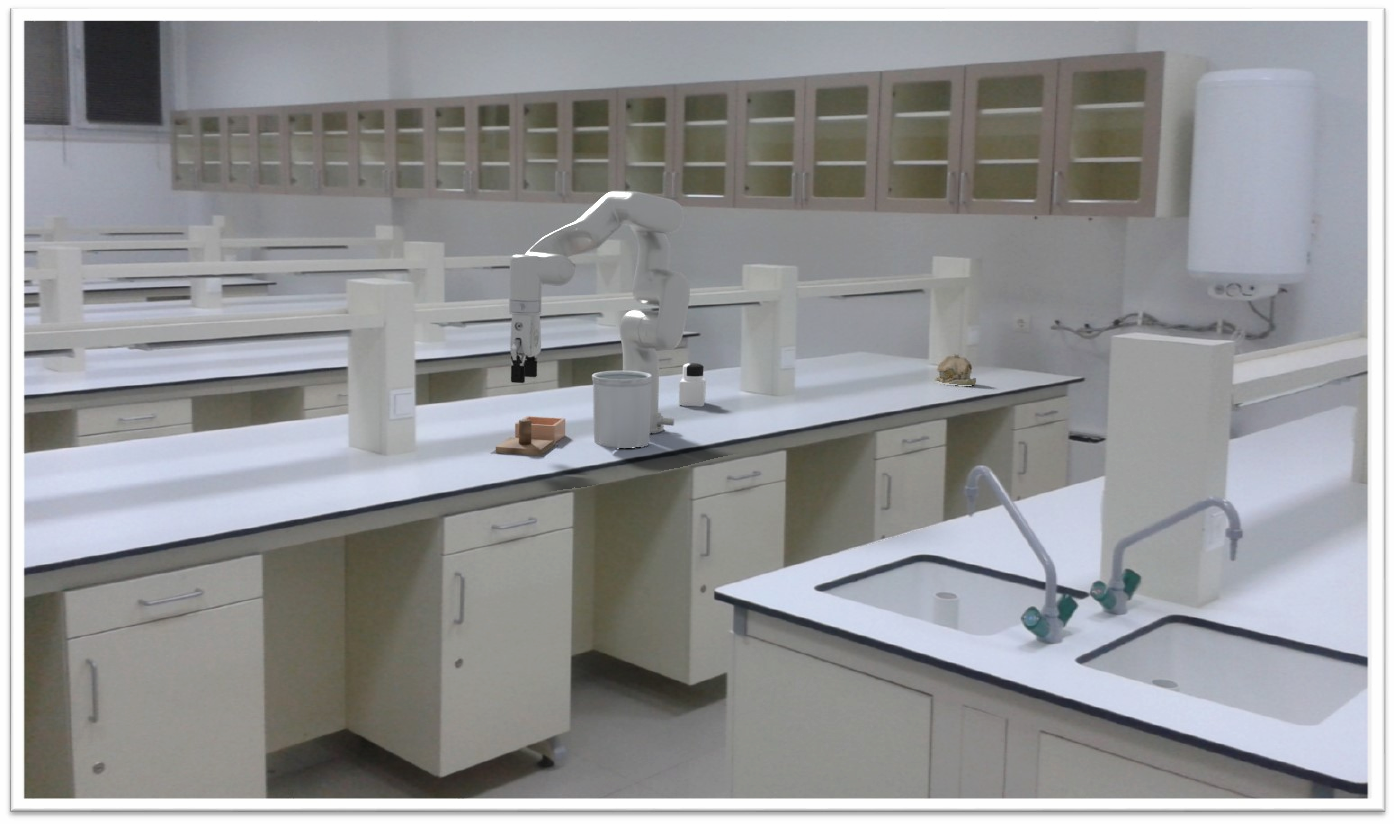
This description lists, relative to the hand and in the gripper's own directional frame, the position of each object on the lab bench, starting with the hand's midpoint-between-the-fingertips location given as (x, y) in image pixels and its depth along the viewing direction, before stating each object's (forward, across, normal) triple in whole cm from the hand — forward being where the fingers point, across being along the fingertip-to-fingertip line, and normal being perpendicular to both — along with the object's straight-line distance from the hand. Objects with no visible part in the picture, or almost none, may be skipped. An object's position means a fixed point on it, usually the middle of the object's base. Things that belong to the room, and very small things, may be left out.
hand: (524, 379), depth 299 cm
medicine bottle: (+16, +75, -28) cm, 82 cm away
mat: (+18, +1, 0) cm, 18 cm away
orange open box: (+17, +14, 0) cm, 22 cm away
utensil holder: (+17, +16, -20) cm, 31 cm away
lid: (+17, +1, 0) cm, 17 cm away
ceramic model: (+15, +141, -106) cm, 177 cm away
